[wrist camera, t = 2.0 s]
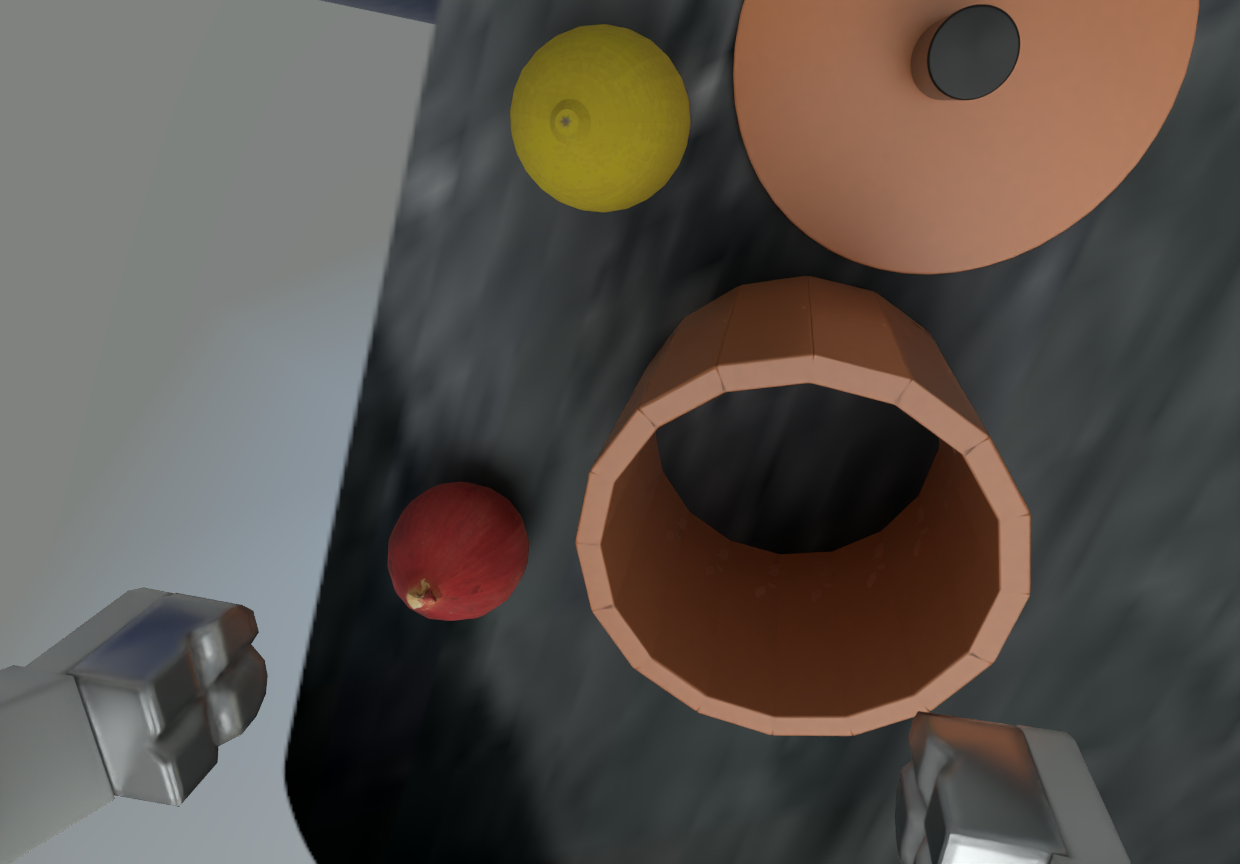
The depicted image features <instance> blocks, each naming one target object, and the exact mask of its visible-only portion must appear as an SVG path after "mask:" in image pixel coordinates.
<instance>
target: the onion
mask: <svg viewBox="0 0 1240 864" xmlns="http://www.w3.org/2000/svg"><path fill="white" fill-rule="evenodd" d="M528 551H529V540H528V536H527V532H526V529H525V526H524V523H523V520H522V517H521V515H520V514H519V512H518V511H517V510H516V508H515V507H514V506H513V505H512V503H511V502H510V501H509V499H507V498H505V497H504V496H502V495H501V494H499V493H497V492H496V491H494V490H493V489H491V488H488V487H484V486H480V485H477V484H473V483H468V482H453V483H443V484H439V485H436V486H434V487H432V488H430V489H428V490H426V491H425V492H424V493H422V494H421V495H419V496H418V497H417V498H415V499H414V500H412V501H411V502H410V503H409V504H408V506H407V507H406V508H405V509H404V511H403V512H402V514H401V516H400V518H399V519H398V521H397V523H396V525H395V527H394V529H393V531H392V533H391V536H390V539H389V549H388V570H389V573H390V576H391V579H392V582H393V585H394V589H395V591H396V593H397V594H398V595H399V597H400V598H401V599H402V600H403V601H404V602H405V604H406V605H407V606H408V607H409V608H410V609H412V610H414V611H416V612H418V613H419V614H421V615H423V616H425V617H427V618H428V619H438V620H447V621H452V620H462V619H472V618H478V617H481V616H483V615H485V614H487V613H488V612H490V611H491V610H493V609H494V608H496V607H497V606H499V605H500V604H502V603H503V602H504V601H506V600H507V599H508V598H509V596H510V595H511V594H512V592H513V591H514V589H515V588H516V586H517V584H518V583H519V581H520V579H521V577H522V576H523V574H524V571H525V568H526V565H527V563H528Z"/></svg>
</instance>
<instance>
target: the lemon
mask: <svg viewBox="0 0 1240 864" xmlns="http://www.w3.org/2000/svg"><path fill="white" fill-rule="evenodd" d="M510 118H511V134H512V138H513V141H514V145H515V149H516V152H517V155H518V157H519V158H520V160H521V162H522V164H523V166H524V168H525V170H526V172H527V173H528V174H529V175H530V176H531V178H532V179H533V180H534V181H535V182H536V183H537V184H538V186H539V187H540V188H541V189H542V190H544V191H545V192H546V193H548V194H549V195H551V196H552V197H554V198H555V199H556V200H558V201H559V202H561V203H564V204H567V205H569V206H572V207H575V208H577V209H580V210H585V211H595V212H611V211H617V210H622V209H628V208H630V207H632V206H634V205H636V204H638V203H641V202H643V201H645V200H647V199H648V198H650V197H651V196H652V195H653V194H655V193H656V192H657V191H658V190H659V189H661V188H662V187H663V186H664V185H665V184H666V183H667V181H668V180H669V179H670V177H671V176H672V175H673V173H674V172H675V170H676V169H677V168H678V166H679V164H680V161H681V159H682V157H683V154H684V152H685V149H686V147H687V142H688V136H689V130H690V123H691V122H690V109H689V99H688V96H687V93H686V90H685V87H684V84H683V81H682V78H681V76H680V75H679V73H678V71H677V70H676V68H675V66H674V65H673V63H672V62H671V60H670V58H669V57H668V56H667V55H666V54H665V53H664V52H663V51H662V50H661V49H660V48H659V47H658V46H657V45H656V44H654V43H653V42H652V41H651V40H649V39H648V38H646V37H644V36H642V35H640V34H638V33H636V32H634V31H632V30H630V29H627V28H622V27H617V26H612V25H607V24H600V25H589V26H579V27H577V28H574V29H572V30H569V31H567V32H564V33H562V34H559V35H557V36H555V37H554V38H553V39H551V40H550V41H549V42H548V43H546V44H545V45H544V46H542V47H541V48H540V49H539V50H537V51H536V53H535V54H534V55H533V57H532V58H531V59H530V60H529V62H528V63H527V64H526V66H525V67H524V68H523V70H522V72H521V74H520V77H519V79H518V81H517V84H516V86H515V88H514V93H513V98H512V104H511V109H510Z"/></svg>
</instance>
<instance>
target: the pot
mask: <svg viewBox="0 0 1240 864" xmlns="http://www.w3.org/2000/svg"><path fill="white" fill-rule="evenodd" d="M804 383H812V384H816V385H820V386H824V387H828V388H832V389H836V390H839V391H843V392H847V393H851V394H855V395H859V396H863V397H866V398H870V399H874V400H878V401H882V402H886V403H890V404H894V405H896V406H897V407H898V408H900V409H901V410H902V411H904V412H905V413H906V414H908V415H909V416H910V417H912V418H913V419H915V420H916V421H917V422H919V423H920V424H921V425H923V426H924V427H925V428H927V429H928V430H929V431H931V432H932V433H933V434H935V435H936V436H938V437H939V449H938V451H937V454H936V456H935V459H934V461H933V463H932V466H931V468H930V470H929V473H928V475H927V477H926V480H925V482H924V484H923V487H922V489H921V491H920V494H919V496H918V497H917V498H915V499H914V500H913V501H912V502H911V503H910V504H909V505H908V506H907V507H906V508H905V509H904V510H903V511H902V512H901V513H900V514H899V515H898V516H897V517H895V518H894V519H893V520H892V521H891V522H890V523H889V524H888V525H887V526H886V527H885V528H884V529H883V530H882V531H881V532H878V533H876V534H873V535H871V536H868V537H866V538H864V539H861V540H859V541H856V542H854V543H852V544H849V545H847V546H844V547H842V548H839V549H837V550H835V551H832V552H815V553H796V554H776V553H773V552H769V551H766V550H762V549H759V548H755V547H752V546H748V545H745V544H741V543H738V542H734V541H730V540H729V539H727V538H726V537H725V536H723V535H722V534H720V533H719V532H717V531H716V530H715V529H713V528H712V527H710V526H709V525H708V524H706V523H705V522H703V521H702V520H701V519H699V518H698V517H696V516H695V515H694V514H692V513H691V512H689V510H688V509H687V507H686V506H685V504H684V503H683V501H682V500H681V498H680V497H679V495H678V494H677V492H676V491H675V489H674V488H673V486H672V485H671V483H670V482H669V480H668V479H667V477H666V476H665V474H664V473H663V471H662V466H661V461H660V455H659V450H658V445H657V439H656V434H655V431H656V430H657V429H658V428H659V427H661V426H662V425H664V424H666V423H668V422H670V421H672V420H674V419H676V418H678V417H679V416H681V415H683V414H685V413H687V412H689V411H691V410H693V409H695V408H697V407H698V406H700V405H702V404H704V403H706V402H708V401H710V400H712V399H714V398H715V397H717V396H719V395H721V394H723V393H725V392H732V391H741V390H750V389H759V388H768V387H777V386H786V385H795V384H804ZM575 540H576V547H577V552H578V556H579V560H580V564H581V568H582V572H583V576H584V581H585V585H586V589H587V593H588V597H589V601H590V606H591V609H592V612H593V613H594V615H595V616H596V617H597V619H598V620H599V622H600V623H601V624H602V626H603V627H604V628H605V630H606V631H607V633H608V634H609V635H610V637H611V638H612V639H613V641H614V642H615V644H616V645H617V646H618V648H619V649H620V650H621V652H622V653H623V655H624V656H625V657H626V659H627V660H628V661H629V663H630V664H631V666H632V667H633V668H634V669H636V670H637V671H638V672H640V673H641V674H643V675H644V676H646V677H647V678H649V679H650V680H651V681H653V682H654V683H656V684H657V685H659V686H660V687H662V688H663V689H664V690H666V691H667V692H669V693H670V694H672V695H673V696H675V697H676V698H678V699H679V700H680V701H682V702H683V703H685V704H686V705H688V706H689V707H691V708H692V709H693V710H695V711H697V712H698V713H701V714H704V715H707V716H710V717H714V718H717V719H720V720H723V721H727V722H730V723H733V724H736V725H739V726H743V727H746V728H749V729H752V730H756V731H759V732H762V733H765V734H769V735H772V734H773V735H779V736H852V734H853V735H858V734H861V733H864V732H867V731H871V730H874V729H877V728H880V727H883V726H887V725H890V724H893V723H896V722H899V721H903V720H906V719H909V718H912V717H915V716H916V714H917V712H918V711H920V712H927V713H928V712H929V711H932V710H933V709H935V708H936V707H937V706H938V705H940V704H941V703H942V702H944V701H945V700H946V699H947V698H949V697H950V696H951V695H953V694H954V693H955V692H957V691H958V690H959V689H960V688H962V687H963V686H964V685H966V684H967V683H968V682H970V681H971V680H972V679H973V678H975V677H976V676H977V675H979V674H980V673H981V672H983V671H984V670H985V669H986V668H988V667H989V666H990V665H991V664H992V663H994V662H995V660H996V658H997V656H998V654H999V652H1000V651H1001V649H1002V647H1003V645H1004V643H1005V641H1006V639H1007V637H1008V636H1009V634H1010V632H1011V630H1012V628H1013V626H1014V624H1015V622H1016V621H1017V619H1018V617H1019V615H1020V613H1021V611H1022V609H1023V608H1024V606H1025V604H1026V602H1027V600H1028V598H1029V596H1030V591H1031V515H1030V513H1029V509H1028V507H1027V505H1026V503H1025V501H1024V499H1023V497H1022V495H1021V494H1020V492H1019V490H1018V488H1017V486H1016V484H1015V482H1014V480H1013V479H1012V477H1011V475H1010V473H1009V471H1008V469H1007V467H1006V465H1005V464H1004V462H1003V460H1002V458H1001V456H1000V454H999V452H998V450H997V449H996V447H995V445H994V443H993V441H992V439H991V437H990V436H989V434H988V432H987V430H986V429H985V427H984V425H983V424H982V422H981V420H980V418H979V417H978V415H977V413H976V412H975V410H974V408H973V406H972V405H971V403H970V401H969V399H968V398H967V396H966V394H965V393H964V391H963V389H962V387H961V386H960V384H959V382H958V381H957V379H956V377H955V375H954V374H953V372H952V370H951V369H950V367H949V365H948V363H947V362H946V360H945V358H944V356H943V355H942V353H941V351H940V350H939V348H938V346H937V344H936V343H935V341H934V339H933V338H932V336H931V334H930V333H929V332H928V331H927V330H926V329H924V328H923V327H922V326H920V325H919V324H918V323H916V322H915V321H914V320H912V319H911V318H910V317H908V316H907V315H906V314H904V313H903V312H902V311H900V310H899V309H898V308H896V307H895V306H894V305H892V304H891V303H890V302H888V301H887V300H886V299H884V298H883V297H882V296H880V295H879V294H878V293H876V292H874V291H870V290H866V289H862V288H858V287H854V286H850V285H846V284H842V283H837V282H833V281H829V280H825V279H821V278H817V277H813V276H799V277H792V278H785V279H779V280H772V281H765V282H758V283H751V284H744V285H740V286H737V287H736V288H734V289H732V290H730V291H729V292H727V293H725V294H724V295H722V296H720V297H718V298H717V299H715V300H713V301H712V302H710V303H708V304H706V305H705V306H703V307H701V308H700V309H698V310H696V311H695V312H693V313H691V314H689V315H688V316H686V317H685V318H684V319H682V320H681V322H680V323H679V324H678V326H677V327H676V328H675V330H674V331H673V332H672V334H671V335H670V336H669V338H668V339H667V340H666V342H665V343H664V344H663V346H662V347H661V348H660V350H659V351H658V352H657V354H656V355H655V356H654V358H653V359H652V361H651V362H650V363H649V365H648V366H647V368H646V370H645V371H644V373H643V375H642V377H641V379H640V381H639V382H638V384H637V386H636V388H635V390H634V391H633V393H632V395H631V397H630V399H629V400H628V402H627V404H626V406H625V408H624V410H623V411H622V413H621V415H620V417H619V419H618V420H617V422H616V424H615V426H614V428H613V429H612V431H611V433H610V435H609V437H608V439H607V440H606V442H605V444H604V446H603V448H602V449H601V451H600V453H599V455H598V457H597V459H596V460H595V462H594V464H593V466H592V468H591V470H590V472H589V476H588V481H587V486H586V491H585V495H584V500H583V505H582V510H581V515H580V520H579V525H578V529H577V534H576V539H575Z"/></svg>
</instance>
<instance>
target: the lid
mask: <svg viewBox="0 0 1240 864" xmlns="http://www.w3.org/2000/svg"><path fill="white" fill-rule="evenodd" d="M1198 12H1199V0H744V3H743V6H742V10H741V13H740V18H739V23H738V29H737V35H736V40H735V47H734V65H733V84H734V100H735V108H736V113H737V119H738V124H739V129H740V133H741V136H742V139H743V142H744V145H745V148H746V151H747V155H748V157H749V159H750V162H751V164H752V166H753V168H754V170H755V172H756V174H757V176H758V178H759V180H760V182H761V183H762V185H763V186H764V188H765V190H766V191H767V193H768V194H769V196H770V197H771V199H772V200H773V202H774V203H775V204H776V205H777V206H778V207H779V209H780V210H781V211H782V212H783V213H784V214H785V215H786V217H787V218H788V219H789V220H790V221H791V222H792V223H793V224H794V225H796V226H797V227H798V228H799V229H800V230H801V231H803V232H804V233H805V234H806V235H807V236H808V237H810V238H811V239H813V240H814V241H816V242H817V243H819V244H820V245H822V246H824V247H825V248H827V249H828V250H830V251H832V252H834V253H836V254H838V255H840V256H842V257H845V258H847V259H849V260H851V261H853V262H856V263H860V264H863V265H866V266H869V267H872V268H876V269H880V270H886V271H892V272H898V273H905V274H928V275H930V274H943V273H955V272H961V271H966V270H971V269H976V268H981V267H985V266H989V265H992V264H995V263H998V262H1001V261H1004V260H1007V259H1010V258H1013V257H1015V256H1017V255H1020V254H1022V253H1024V252H1026V251H1028V250H1031V249H1033V248H1035V247H1037V246H1040V245H1041V244H1043V243H1045V242H1046V241H1048V240H1050V239H1051V238H1053V237H1055V236H1056V235H1058V234H1060V233H1062V232H1063V231H1065V230H1066V229H1068V228H1069V227H1071V226H1072V225H1073V224H1075V223H1076V222H1077V221H1079V220H1080V219H1081V218H1083V217H1084V216H1085V215H1087V214H1088V213H1089V212H1091V211H1092V210H1093V209H1094V208H1095V207H1096V206H1097V205H1098V204H1099V203H1101V202H1102V201H1103V200H1104V199H1105V198H1106V197H1107V196H1108V195H1109V194H1110V193H1111V192H1112V191H1113V190H1115V189H1116V187H1117V186H1118V185H1119V184H1120V183H1121V182H1122V181H1123V179H1124V178H1125V177H1126V176H1127V175H1128V174H1129V172H1130V171H1131V170H1132V169H1133V168H1134V167H1135V166H1136V164H1137V163H1138V162H1139V160H1140V159H1141V157H1142V156H1143V155H1144V153H1145V152H1146V150H1147V149H1148V147H1149V146H1150V145H1151V143H1152V142H1153V140H1154V139H1155V137H1156V136H1157V134H1158V132H1159V130H1160V129H1161V127H1162V125H1163V123H1164V121H1165V119H1166V117H1167V116H1168V114H1169V112H1170V110H1171V108H1172V106H1173V104H1174V102H1175V99H1176V97H1177V94H1178V92H1179V89H1180V87H1181V84H1182V82H1183V79H1184V77H1185V74H1186V71H1187V67H1188V63H1189V59H1190V56H1191V52H1192V48H1193V45H1194V41H1195V33H1196V26H1197V19H1198Z"/></svg>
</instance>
